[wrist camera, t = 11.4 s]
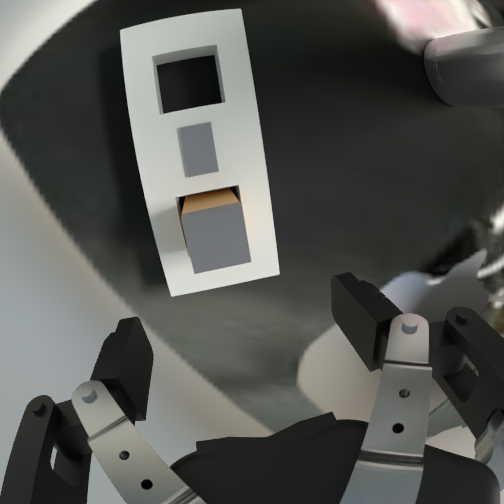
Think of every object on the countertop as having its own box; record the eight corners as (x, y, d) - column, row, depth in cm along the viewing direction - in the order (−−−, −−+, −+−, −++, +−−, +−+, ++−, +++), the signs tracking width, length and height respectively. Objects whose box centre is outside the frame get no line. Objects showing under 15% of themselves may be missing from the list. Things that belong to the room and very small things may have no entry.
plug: (229, 187, 26) (242, 205, 19) (236, 228, 28) (251, 262, 20) (185, 196, 26) (180, 218, 18) (194, 237, 27) (194, 274, 20)
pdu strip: (236, 21, 20) (241, 7, 17) (271, 261, 29) (280, 275, 26) (127, 40, 19) (119, 28, 16) (173, 281, 28) (171, 298, 25)
